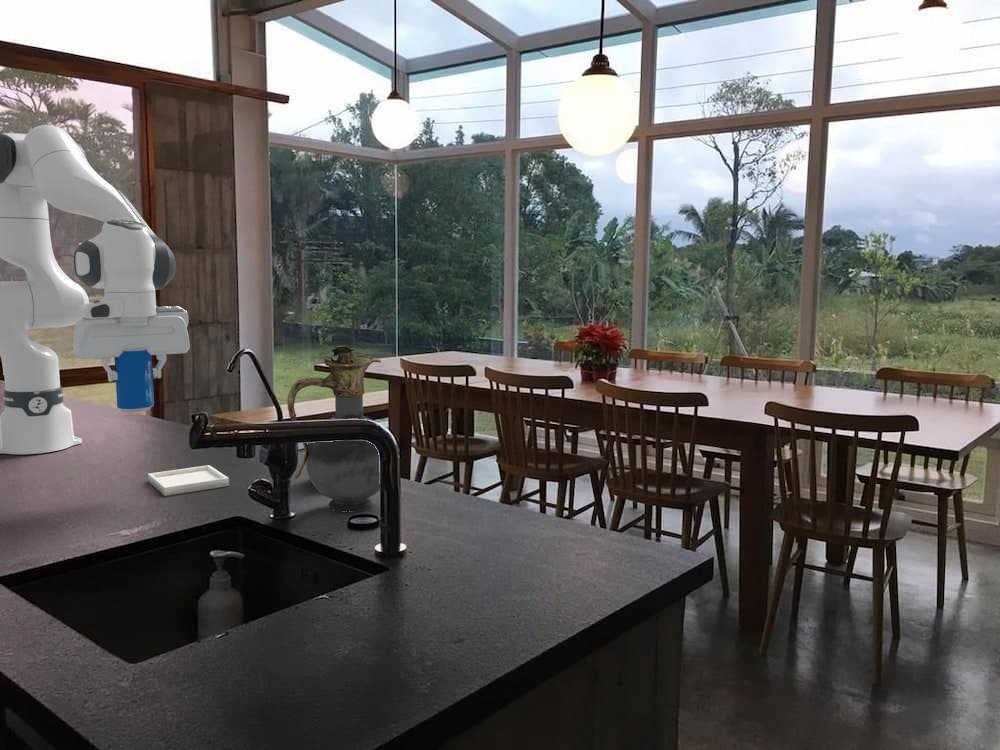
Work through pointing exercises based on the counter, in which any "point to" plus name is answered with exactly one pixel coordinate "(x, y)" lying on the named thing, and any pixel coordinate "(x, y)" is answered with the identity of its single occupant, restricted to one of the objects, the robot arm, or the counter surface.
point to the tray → (188, 480)
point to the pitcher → (342, 464)
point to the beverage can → (134, 381)
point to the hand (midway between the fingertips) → (135, 379)
